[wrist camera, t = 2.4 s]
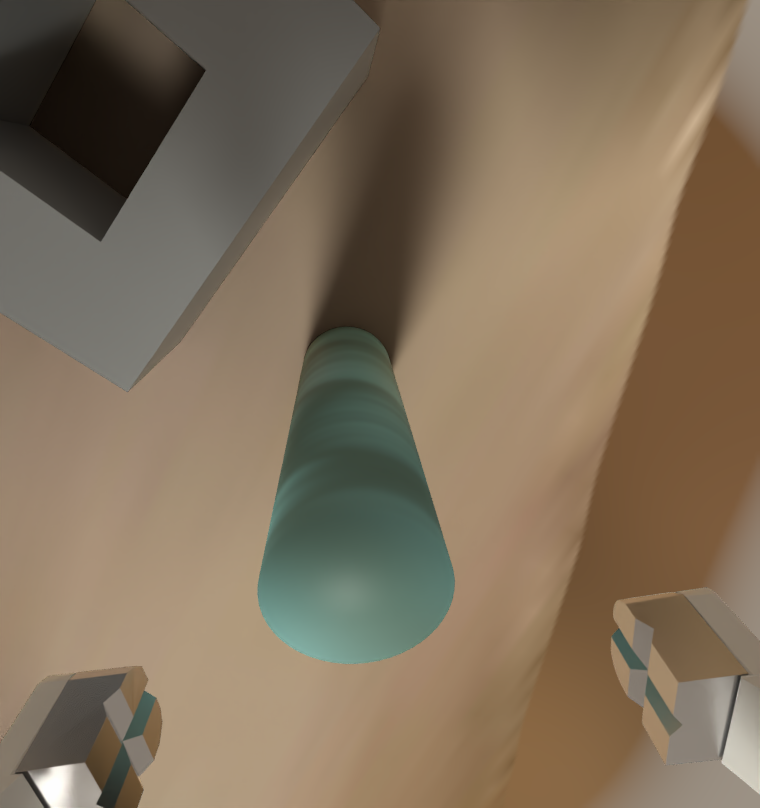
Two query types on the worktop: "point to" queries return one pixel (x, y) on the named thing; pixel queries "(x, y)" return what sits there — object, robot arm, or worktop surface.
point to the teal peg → (352, 515)
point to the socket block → (162, 169)
